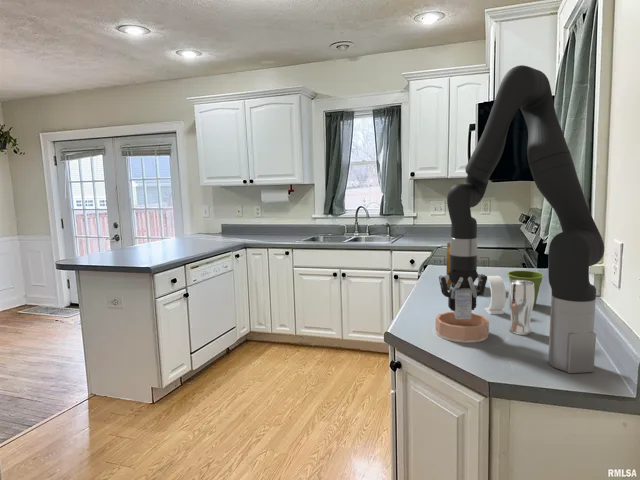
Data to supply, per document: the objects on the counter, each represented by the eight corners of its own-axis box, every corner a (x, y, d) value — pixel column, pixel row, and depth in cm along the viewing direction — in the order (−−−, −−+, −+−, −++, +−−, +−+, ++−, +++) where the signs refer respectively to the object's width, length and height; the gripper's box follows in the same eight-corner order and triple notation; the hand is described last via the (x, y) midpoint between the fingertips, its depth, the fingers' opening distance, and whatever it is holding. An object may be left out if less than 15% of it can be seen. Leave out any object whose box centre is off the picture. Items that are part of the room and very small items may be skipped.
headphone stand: (497, 309, 154) (499, 275, 152) (505, 314, 148) (506, 279, 146) (484, 309, 154) (485, 276, 152) (491, 315, 148) (492, 280, 146)
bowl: (496, 341, 125) (497, 326, 124) (445, 344, 124) (446, 328, 123) (475, 324, 139) (476, 310, 139) (430, 326, 139) (430, 312, 138)
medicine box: (471, 320, 127) (472, 291, 126) (455, 319, 128) (455, 290, 126) (468, 312, 134) (468, 284, 133) (452, 311, 135) (453, 283, 134)
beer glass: (511, 326, 137) (512, 278, 135) (535, 330, 133) (537, 281, 130) (504, 332, 132) (505, 283, 130) (529, 337, 127) (531, 286, 125)
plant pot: (499, 303, 162) (499, 272, 160) (522, 298, 166) (524, 269, 165) (525, 311, 151) (527, 279, 149) (550, 306, 156) (552, 275, 154)
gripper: (443, 256, 124) (442, 314, 127) (493, 254, 125) (491, 312, 127) (434, 251, 132) (434, 307, 134) (482, 250, 132) (480, 305, 135)
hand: (462, 309), depth 131 cm, fingers closed on medicine box, 5 cm apart
